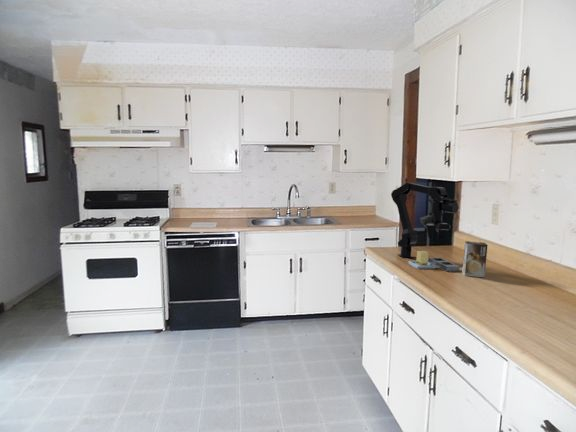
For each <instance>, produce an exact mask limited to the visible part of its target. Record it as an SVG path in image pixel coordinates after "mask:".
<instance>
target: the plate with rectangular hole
mask: <svg viewBox="0 0 576 432" xmlns="http://www.w3.org/2000/svg"><path fill="white" fill-rule="evenodd" d="M428 262H429V263H431V264H433V265H435V266H436V268H439V269H441V270H443V271H444V272H450V273H451V272H460V268H461V267H460V265H458V264H455V263H453V262H451V261H448V260H446V259H444V258H442V257H428Z"/></svg>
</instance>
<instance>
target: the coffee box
mask: <svg viewBox="0 0 576 432" xmlns="http://www.w3.org/2000/svg"><path fill="white" fill-rule="evenodd" d="M487 255H488V244H487V243H485V242H481V241H467V240H464V249H463V258H462V259H463V261H462V269H461V270H462V271H461V273H462V275H464V277H465V276H466V277H475V278H476V277H477V278H478V277H479V278H485V277H486V265H487Z"/></svg>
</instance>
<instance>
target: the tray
mask: <svg viewBox="0 0 576 432" xmlns="http://www.w3.org/2000/svg"><path fill="white" fill-rule="evenodd" d="M408 265H410V266H412V267H413V268H415V269H417V270H436V269H437V266H435V265H433V264H431V263H429V262H428V266H419V265H417V264H416V260H408Z"/></svg>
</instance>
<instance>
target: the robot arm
mask: <svg viewBox="0 0 576 432" xmlns="http://www.w3.org/2000/svg"><path fill="white" fill-rule="evenodd" d="M411 191H412V192H413V191H414V192H417V193H422V194H425V195H427V196H429V197H430V199H428V200H427V201H428V202H431V206H430V207H431V209H430V211H429V212H428V215H425V216H422V217H419V221H420V222H419V223H420V224H421V225H423V226H424V227H425V228H426V232H427V235H428V239H431V238H432V237H433V234H434V230H435V231H436V232H437V242H438V243H440V242H441V240H442V239H443V238H444V236H445V235H446V233H447V232H448V231H449V230H451V224H449V223H447V222H444V221H443V216H445V213H450V214H457V212H458V211H459V204H458V201H457V199H451V198H450V196H449V194H448V193H447V189H446V188H445V187H443V186H428V185H422V184H418V183H414V182H405V183H404V184H402V185H400V186H399V187H397V188H396V189H393V190H392V192H391V199H392V201H393V203H394V204H395V205H396V207H397V210H398V214H399V219H400V222H401V227H402V233H401V239H400V240H399V241H398V242H397V244H398V247H400V253H399V254H397V255H398V256H399V257H401V258H403V259H406V258H408V259H411V258H412V259H413V258H414V256H413V255H412V247H414V246H415V245H416V243H418V240H419V235H418V231H417V229H413V227H412V223H411V219H410V215H409V210H408V208H407V201H408V195H409V194H410V193H411Z"/></svg>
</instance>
